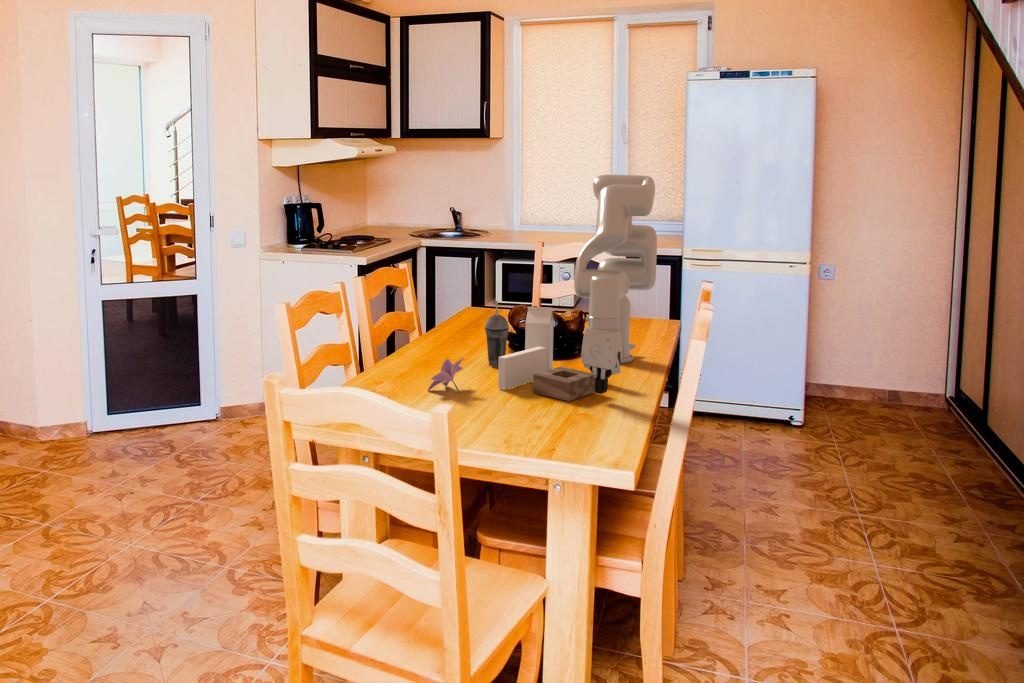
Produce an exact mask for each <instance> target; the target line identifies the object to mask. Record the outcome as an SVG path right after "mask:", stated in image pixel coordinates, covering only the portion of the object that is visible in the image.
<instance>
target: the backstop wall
mask: <svg viewBox="0 0 1024 683" xmlns="http://www.w3.org/2000/svg"><path fill="white" fill-rule="evenodd" d="M546 360H547V347H542V346H539V347H535V348H531V349H527V350H525V349H524V350H521V351H516V352H511V353H508V354H505V355H504V356H500V357H499V364H498V368H497V369H498V372H497V373H498V374H497V375H498V376H497V380H498V382H497V386H498V387H497V389H498V388H500V389H504V390H506V389H509V388H512V387H515V388H517V387H516V386H519V385H522V384H525V383H528V382H532V381H533V374H537V373H540V372H543V371H546ZM532 383H533V382H532ZM525 385H526V384H525ZM522 386H523V385H522ZM519 387H520V386H519ZM500 389H499V390H500ZM512 389H513V388H512ZM504 390H503V391H504ZM509 390H510V389H509ZM506 391H507V390H506Z"/></svg>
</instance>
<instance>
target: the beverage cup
mask: <svg viewBox="0 0 1024 683" xmlns="http://www.w3.org/2000/svg"><path fill="white" fill-rule="evenodd" d="M498 306H499V305H498V300H495V314H492V315H491V316H489V317H488V318H487V320H486V322H485V325H484V330H485V332H484V333H485V335H486V346H487V347H486V348H487V361H488V366H489V367H490V366H492V367H491V368H494V367H498V364H499V357H500V356H504V355H506V351H507V342H508V341H507V340H508V335H509V330H510V327H509V323H508V320H507V318H506V317H505V316H503V315H501V314H499V313H498V312H499V310H498Z"/></svg>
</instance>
